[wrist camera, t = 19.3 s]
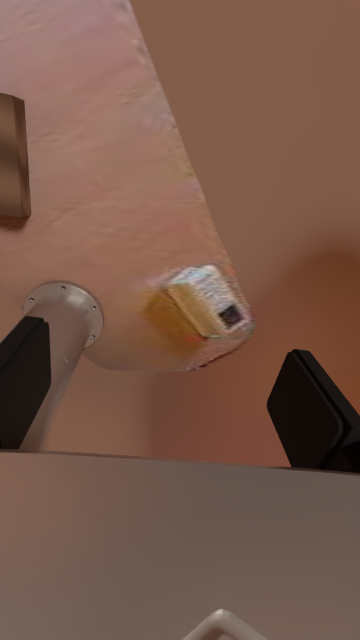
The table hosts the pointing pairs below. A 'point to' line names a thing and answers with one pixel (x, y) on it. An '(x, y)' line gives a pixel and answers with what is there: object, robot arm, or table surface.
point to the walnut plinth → (13, 158)
